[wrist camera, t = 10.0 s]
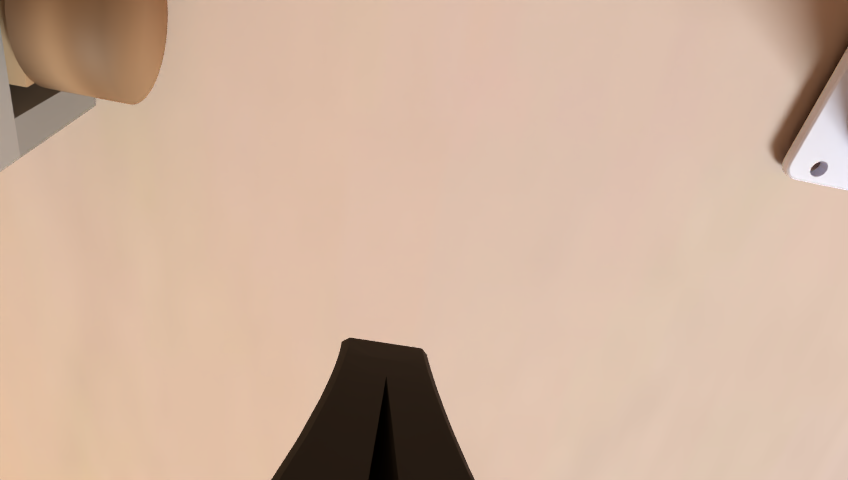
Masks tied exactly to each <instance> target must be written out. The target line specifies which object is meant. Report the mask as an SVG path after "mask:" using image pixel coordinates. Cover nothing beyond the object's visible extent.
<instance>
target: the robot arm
mask: <svg viewBox="0 0 848 480" xmlns="http://www.w3.org/2000/svg"><path fill="white" fill-rule="evenodd" d="M820 161H821V162H820ZM817 162H820V165H819V166H818V168H817V169H815V170H813V171H810V170H811V167H812V166H813V165H814V164H815V163H817ZM782 170H783V171H784V172H785V174H786V175H788V176H789V177H790V178H792V179H795V180H799V181H804V182H809V183H814V184H818V185H823V186H828V187H833V188H838V189H843V190H848V48H847V49H846V51H845V53H844V55H843V56H842V58H841V60H840V62H839V63H838V65H837V67H836V69H835V70H834V72H833V74H832V76H831V77H830V79H829V81H828V83H827V84H826V86H825V88H824V90H823V91H822V93H821V95H820V97H819V98H818V100H817V102H816V104H815V105H814V107H813V109H812V111H811V112H810V114H809V116H808V118H807V119H806V121H805V123H804V125H803V126H802V128H801V130H800V132H799V133H798V135H797V137H796V139H795V140H794V142H793V144H792V146H791V147H790V149H789V151H788V153H787V154H786V156H785V158H784V160H783V163H782ZM271 480H474V477H473V475H472V473H471V471H470V469H469V467H468V464H467V462H466V460H465V458H464V455H463V453H462V451H461V448H460V446H459V444H458V442H457V439H456V437H455V435H454V432H453V430H452V427H451V425H450V422H449V420H448V417H447V415H446V412H445V410H444V407H443V404H442V401H441V399H440V396H439V393H438V390H437V387H436V385H435V381H434V378H433V375H432V372H431V369H430V365H429V362H428V358H427V355H426V353H425V352H424V351H423V349H421V348H415V347H408V346H401V345H395V344H388V343H382V342H375V341H369V340H362V339H355V338H348V339H346V340H344V341H343V342H342V344H341V348H340V353H339V356H338V359H337V362H336V364H335V367H334V370H333V372H332V374H331V377H330V379H329V381H328V383H327V385H326V387H325V389H324V392H323V394H322V396H321V398H320V400H319V402H318V403H317V405H316V407H315V409H314V411H313V412H312V414H311V416H310V418H309V420H308V421H307V423H306V425H305V427H304V429H303V430H302V432H301V434H300V436H299V437H298V439H297V441H296V442H295V444H294V445H293V447H292V449H291V450H290V452H289V453H288V455H287V456H286V458H285V459H284V461H283V462H282V464H281V466H280V467H279V469H278V470H277V472H276V473H275V475H274V476H273V478H272V479H271Z"/></svg>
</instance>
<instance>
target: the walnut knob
mask: <svg viewBox="0 0 848 480" xmlns="http://www.w3.org/2000/svg"><path fill="white" fill-rule="evenodd" d="M167 17H168V11H167V0H0V29H1V35H2V42H3V48H4V55H5V61H6V67H7V74H8V80H9V84H11V85H17V86H22V87H28V86H30V85H32V84H34V83H35V84H37V85H39V86H40V87H44V88H48V89H53V90H58V91H63V92H69V93H74V94H79V95H84V96H90V97H95V98H100V99H105V100H110V101H116V102H121V103H126V104H137V103H139V102H141V101H142V100H143V99H145V98H146V96H147V95H148V94H149V93H150V91H151V89H152V87H153V86H154V83H155V81H156V79H157V76H158V74H159V70H160V67H161V64H162V60H163V55H164V50H165V43H166V35H167Z"/></svg>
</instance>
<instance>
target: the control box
mask: <svg viewBox="0 0 848 480" xmlns="http://www.w3.org/2000/svg"><path fill="white" fill-rule="evenodd" d="M94 106H96V103H95V97H90V96H84V95H79V94H74V93H69V92H63V91H58V90H53V89H48V88H44V87H40V86H39V85H37V84H35V83H34V84H32V85H30V86H28V87H22V86H17V85H11V84H9V80H8V74H7V67H6V61H5V55H4V48H3V42H2V35H1V29H0V172H1V171H2V170H3V169H5V168H6V167H8V166H9V165H11V164H12V163H14V162H15V161H16V160H18V159H19V158H21V157H22V156H24V155H25V154H26V153H28V152H29V151H31V150H32V149H34V148H35V147H37V146H38V145H39V144H41V143H42V142H44V141H45V140H47V139H48V138H50V137H51V136H52V135H54V134H55V133H57V132H58V131H60V130H61V129H62V128H64V127H65V126H67V125H68V124H70V123H71V122H73V121H74V120H75V119H77V118H78V117H80V116H81V115H83V114H84V113H86V112H87V111H88V110H90V109H91V108H93V107H94Z"/></svg>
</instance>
